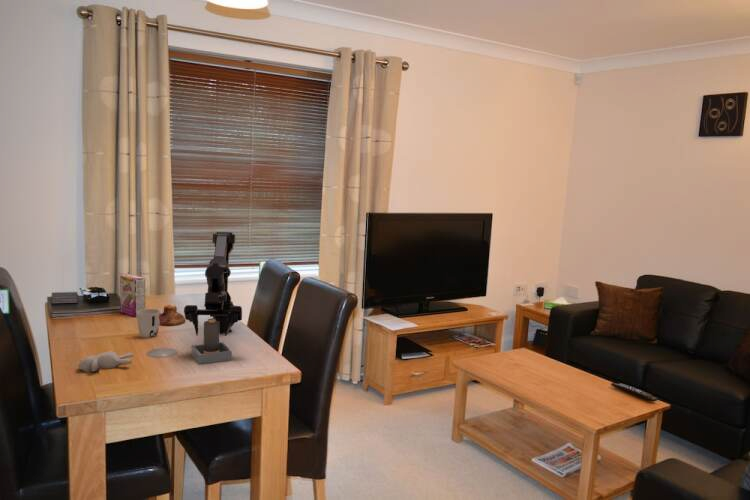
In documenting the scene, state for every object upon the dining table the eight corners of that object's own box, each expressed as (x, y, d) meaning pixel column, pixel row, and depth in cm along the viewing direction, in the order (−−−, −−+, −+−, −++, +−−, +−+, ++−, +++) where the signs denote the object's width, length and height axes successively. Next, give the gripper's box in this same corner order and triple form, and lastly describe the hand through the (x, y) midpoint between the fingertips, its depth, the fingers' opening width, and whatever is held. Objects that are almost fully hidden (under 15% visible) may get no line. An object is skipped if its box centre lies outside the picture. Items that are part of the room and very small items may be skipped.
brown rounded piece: (150, 321, 232) (150, 303, 231) (180, 317, 239) (180, 300, 238) (159, 328, 223) (159, 310, 222) (189, 324, 230) (189, 307, 229)
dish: (222, 353, 197) (223, 342, 197) (231, 363, 188) (231, 351, 188) (191, 356, 192) (191, 345, 191) (198, 367, 183) (199, 355, 182)
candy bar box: (119, 312, 241) (118, 275, 238) (129, 310, 245) (129, 273, 243) (135, 317, 235) (135, 279, 233) (146, 315, 239) (146, 277, 237)
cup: (152, 342, 205) (152, 315, 204) (132, 339, 207) (131, 313, 205) (164, 336, 213) (164, 310, 211) (145, 333, 214) (145, 307, 213)
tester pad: (174, 349, 198) (174, 346, 198) (180, 358, 190) (180, 355, 190) (144, 352, 193) (144, 350, 193) (148, 362, 185) (148, 359, 184)
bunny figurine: (81, 352, 179) (132, 345, 183) (84, 368, 180) (134, 360, 184) (75, 362, 170) (129, 355, 174) (78, 379, 171) (131, 370, 175)
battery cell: (211, 353, 193) (212, 316, 191) (222, 356, 191) (223, 319, 189) (200, 357, 189) (200, 319, 187) (211, 360, 186) (211, 322, 185)
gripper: (185, 281, 189) (178, 322, 179) (242, 282, 192) (239, 323, 182) (188, 299, 197) (183, 339, 188) (243, 300, 200) (240, 339, 191)
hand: (211, 335), depth 187 cm, fingers open, 9 cm apart
